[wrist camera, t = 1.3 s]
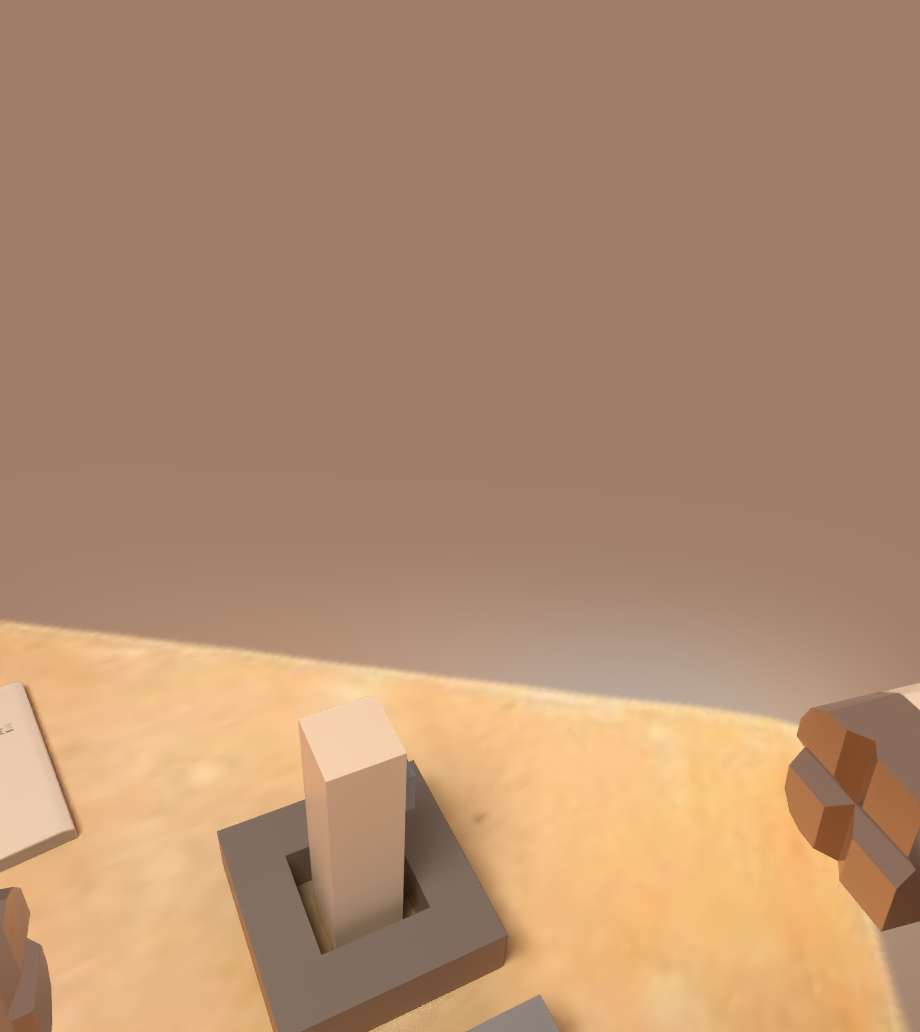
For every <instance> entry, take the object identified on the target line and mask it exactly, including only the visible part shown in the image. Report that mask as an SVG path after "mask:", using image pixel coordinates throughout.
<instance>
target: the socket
mask: <svg viewBox="0 0 920 1032" xmlns="http://www.w3.org/2000/svg"><path fill="white" fill-rule="evenodd" d="M409 763H410V765H411V767H412V769H413V771H414V773H415V775H416V783H415V808H413V809H411V810H408V811H406V812H405V846H404V884H403V886H404V888H405V890H406V892H407V894H408V897H409V899H410V901H411V903H412V905H413V907H414V909H415V912H416V914H414V915H412V916H410V917H407V918H405V919H403V920H400V921H398V922H396V923H393V924H391V925H389V926H387V927H384V928H382V929H380V930H377V931H375V932H373V933H371V934H368V935H366V936H364V937H361V938H359V939H357V940H355V941H352V942H350V943H348V944H345V945H343V946H341V947H338V948H336V949H334V950H332V951H329V952H327V953H325V954H322V955H321V953H320V950H319V947H318V944H317V942H316V939H315V936H314V933H313V931H312V928H311V925H310V922H309V920H308V917H307V914H306V911H305V909H304V906H303V903H302V900H301V898H300V895H299V892H298V889H297V887H296V886H297V885H299V884H302V883H304V882H307V881H309V880H312V874H311V862H310V850H309V839H308V827H307V815H306V804H305V800H302V801H300V802H297V803H294V804H291V805H289V806H286V807H283V808H280V809H278V810H275V811H272V812H269V813H267V814H264V815H261V816H258V817H255V818H253V819H250V820H247V821H244V822H242V823H239V824H236V825H233V826H231V827H228V828H225V829H222V830H220V831H217V834H218V840H219V845H220V850H221V855H222V861H223V865H224V869H225V872H226V875H227V879H228V882H229V885H230V889H231V892H232V895H233V899H234V902H235V905H236V909H237V912H238V915H239V919H240V922H241V925H242V929H243V932H244V935H245V938H246V942H247V945H248V948H249V952H250V955H251V958H252V962H253V965H254V968H255V972H256V975H257V978H258V982H259V985H260V988H261V992H262V995H263V998H264V1001H265V1005H266V1008H267V1011H268V1015H269V1018H270V1021H271V1025H272V1028H273V1031H274V1032H367V1031H369V1030H371V1029H374V1028H376V1027H378V1026H380V1025H382V1024H384V1023H386V1022H388V1021H390V1020H392V1019H394V1018H396V1017H398V1016H401V1015H403V1014H405V1013H407V1012H409V1011H411V1010H413V1009H415V1008H417V1007H419V1006H421V1005H423V1004H425V1003H428V1002H430V1001H432V1000H434V999H436V998H438V997H440V996H442V995H444V994H446V993H448V992H450V991H452V990H455V989H457V988H459V987H461V986H463V985H465V984H467V983H469V982H471V981H473V980H475V979H477V978H479V977H482V976H484V975H486V974H488V973H490V972H492V971H494V970H496V969H498V968H500V967H502V966H503V960H504V954H505V948H506V942H507V936H508V934H507V933H506V931H505V929H504V927H503V925H502V923H501V922H500V920H499V918H498V916H497V914H496V912H495V910H494V909H493V907H492V905H491V903H490V901H489V899H488V897H487V896H486V894H485V892H484V890H483V888H482V886H481V884H480V883H479V881H478V879H477V877H476V875H475V873H474V871H473V870H472V868H471V866H470V864H469V862H468V860H467V858H466V857H465V855H464V853H463V851H462V849H461V847H460V845H459V844H458V842H457V840H456V838H455V836H454V834H453V833H452V831H451V829H450V827H449V825H448V823H447V821H446V820H445V818H444V816H443V814H442V812H441V810H440V808H439V807H438V805H437V803H436V801H435V799H434V797H433V795H432V794H431V792H430V790H429V788H428V786H427V784H426V782H425V781H424V779H423V777H422V775H421V773H420V771H419V769H418V768H417V766H416V764H415V762H414V760H413V761H410V762H409Z"/></svg>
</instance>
